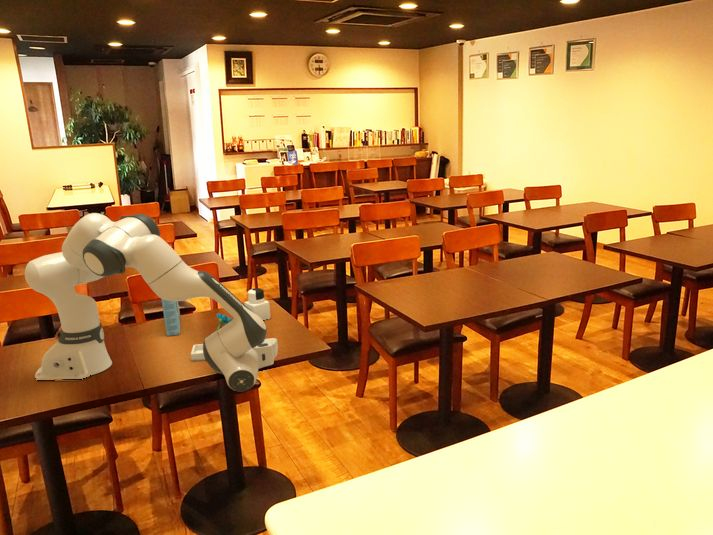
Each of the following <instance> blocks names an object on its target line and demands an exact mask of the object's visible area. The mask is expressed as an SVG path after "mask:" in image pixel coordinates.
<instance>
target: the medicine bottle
mask: <svg viewBox="0 0 713 535" xmlns="http://www.w3.org/2000/svg"><path fill="white" fill-rule="evenodd" d="M247 298H248V301H244V303H243V304H244V305H245V306H246V307H248V308H249V309H250V310H252V311H253V312H254V313H255V314H256V315H258V316H259V317H260V318H261V319H262V320H265V321H267V320H266V319H268V320H270V318H271V317H272V316H271V307H270V301H269V300H266V299H265V290H264V289H263V288H258V287H257V288H251V289H249V290H248V291H247Z"/></svg>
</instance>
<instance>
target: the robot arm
mask: <svg viewBox="0 0 713 535" xmlns="http://www.w3.org/2000/svg"><path fill="white" fill-rule="evenodd" d="M126 268H133V269H135V270H136V271H137V272H138V273H139V274H140V275H141V277H142V279H143V280H144V282H145V283H146V284H147V285H148V286H149V288H150V289H151V290H152V291H153V293H154V294H156V295H157V297H158V298H160V299H164V300H166V301H173V302H176V301H178V302H183V301H188V300H192V299H196V298H204V297H205V298H210V299H212V300H214V301H215V302H216V303H218V305H220V306H221V307H222V308H223V309H224V310H225V311H226V312H227V313H228V314H230V316H232V317H233V319H232V321H230V322H229V323H227V324H226V325H225V326H224V325H222V326H221V327H220V328H219V329H218V330H217V329H216V330H215V331H214V332H213V333H211V334H210V335H208V336H206V337H205V338H204V339H203V343H202V344H203V354H204V357H205V360H204V361H206V363H207V364H208V365H209V367H211V369H212V370H214V371H215V372H217V373H218V374H220V375H223V376H224V378H225V381H226V384H227V386H228V387H229V388H230V389H232V390H233V391H236V392H245V391H248V390H250V389H252V388H253V387H254V385H255V384H256V382H257V379H258V378H259V377H258V376H259V369H262V368H265V367H269V366H272V365H274V361H275V358H276V357H277V355H278V350H279V348H278V346H279V345H278V339H277V338H276V337H272V338H271V337H270V338H266V337H267V334H268V333H267V332H268V327H267V325H266V324H265V321H263V320H262V319H261V318H260V317H259V316H258V315H256V314H255V313H254V312H253V311H252V310H250V309H249V308H248V307H246V306H245V304H244V303H243V302H242V301H241V300H240V299H239V298H238V297H237V296H235V294H233V293H232V291H230V290H229V289H228V288H227V287H226V286H225V285H223V283H221V281H219V280H218V279H217V278H216V277H214V276H213V275H212V274H210V273H209V272H207V271H205V270H196V269H195V268H193V267H190V266H189V265H188V264H186V262H185V261H184V260H183V259H182V258H181V256H180V255H179V254H178V253H177V252H176V251H175V250H174V248H172V246H171V245H170V244H169V243H167V241H166V240H164V239H163V238H162V237H161V231H160V228H159V226H158V224H157V222H156V221H155V220H154V219H153V218H152V217H151V216H149V215H146V214H143V213H135V214H131V215H123V216H121V217H120V218H119V220H117V221H112V220H111V219H110V218H109V217H107V216H106V215H105V214H103V213H98V212H91V213H87V214H86V215H84V216H82V217H81V218H80V219H79V220H78V221H77V222H76V223H75V224H74V225H73V226H72V227H71V229H70V230H69V232H68V234H67V236H66V238H65V239H64V241H63V243H62V245H61V251H59V252H54V253H50V254H46V255H41V256H39V257H37V258H34V259H32V260H30V261H29V262H28V263H27V264H26V266H25V269H24V279H25V281H26V284H27V285H28V286H29V287H30V288H31V289H32V290H34V291H35V292H36V293H40V294H43V295H44V296H46V297H47V298H49V300H50V301H51V302H52V303H53V305H54V306H55V308H56V309H57V310H56V311H57V313H58V317H59V320H60V324H61V325H60V327H59V328H58V331H56V334H54V338H55V340H57V341H56V342H55V343H54V344H53V345H52V346H51V347H50V348H49V349H48V350H47V351H46V352H45V353H44V354H43V356H42V359H41V366H40V367H39V368H38V370H36V372H35V374H34V379H35V378H36V379H37V380H50V379H82V380H84V379H83V378H85V379H87V378H88V377H90V375H91V376H93V375H96V374H99V373H101V372H104V371H105V370H108V369H109V368H110V367H111V366H112V365H113V361H112V359H111V357H110V355H109V353H108V350H107V347H106V344H105V334H104V329H103V325H102V323H101V322H100V321H101V320H100V315H99V309H98V304H97V302H96V300H95V299H94V298H93V297H91V296H89V295H88V294H87V295H86V294H81V293H77V291H76V289H75V286H79V285H84V284H87V283H91V282H95V281H98V280H100V279H102V278H105V277H106V278H107V277H111V276H114V275H117V274H119V275H120V274H125V273H126ZM86 377H87V378H86ZM36 379H35V380H36ZM37 380H36V381H37Z"/></svg>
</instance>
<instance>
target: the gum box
mask: <svg viewBox="0 0 713 535" xmlns="http://www.w3.org/2000/svg"><path fill="white" fill-rule="evenodd" d="M160 299H161V298H160ZM161 306H162V313H163V319H164V324H165V325H164V326H165V334H166V336H167V337H172V336H177V335H180V334H181V313H180V306H179V301H176V302H173V301H166V300H164V299H161Z"/></svg>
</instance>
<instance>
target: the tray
mask: <svg viewBox="0 0 713 535" xmlns="http://www.w3.org/2000/svg"><path fill="white" fill-rule="evenodd" d="M190 359H191V362H197V361H199V362H200V361H206V360H205V357H204V354H203V343H200V344H198V343H197V344H193V346H192V348H191V352H190Z"/></svg>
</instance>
